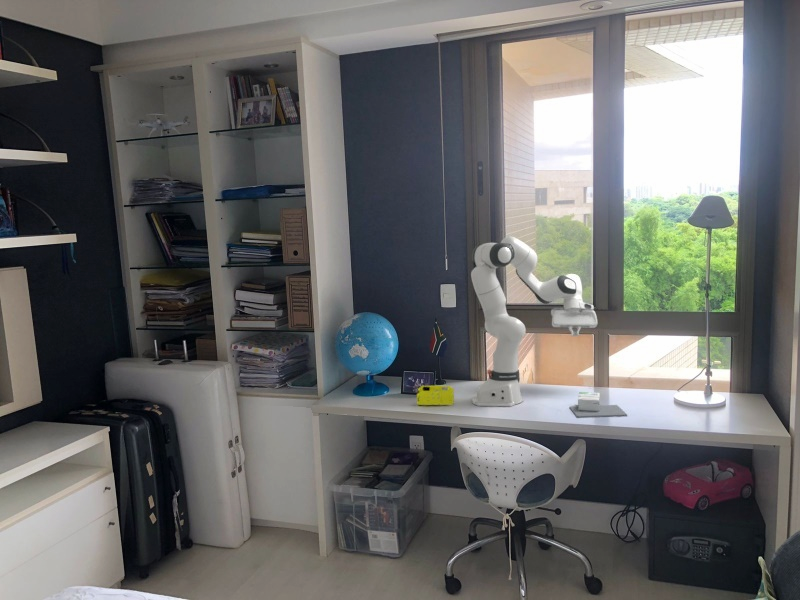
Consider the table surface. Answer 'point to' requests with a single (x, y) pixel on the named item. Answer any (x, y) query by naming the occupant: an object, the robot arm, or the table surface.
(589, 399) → the ink box
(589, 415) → the mat
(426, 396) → the yellow camera
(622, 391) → the table surface
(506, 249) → the robot arm
